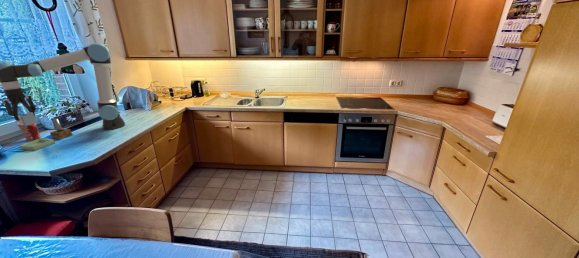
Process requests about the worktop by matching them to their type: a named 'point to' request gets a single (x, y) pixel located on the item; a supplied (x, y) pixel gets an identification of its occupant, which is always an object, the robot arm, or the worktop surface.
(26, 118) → the block
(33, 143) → the tray
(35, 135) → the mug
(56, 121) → the pin gauge
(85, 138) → the worktop surface
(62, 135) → the bored block
